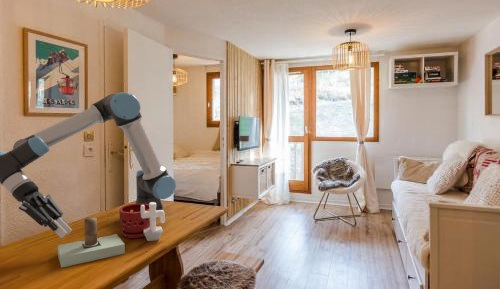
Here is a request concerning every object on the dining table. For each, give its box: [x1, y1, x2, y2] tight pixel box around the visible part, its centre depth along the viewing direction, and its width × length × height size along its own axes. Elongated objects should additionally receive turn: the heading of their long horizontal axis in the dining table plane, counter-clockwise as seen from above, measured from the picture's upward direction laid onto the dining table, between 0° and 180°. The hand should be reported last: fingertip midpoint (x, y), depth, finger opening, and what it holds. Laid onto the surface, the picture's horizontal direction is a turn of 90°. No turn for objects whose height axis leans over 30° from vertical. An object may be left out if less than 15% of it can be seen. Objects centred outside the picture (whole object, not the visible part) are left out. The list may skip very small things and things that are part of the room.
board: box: [57, 233, 126, 268], centre depth 113 cm, size 20×12×4 cm, turn 126°
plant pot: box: [119, 203, 150, 239], centre depth 133 cm, size 13×13×12 cm
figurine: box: [141, 202, 166, 242], centre depth 129 cm, size 7×9×15 cm
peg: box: [83, 216, 98, 249], centre depth 113 cm, size 4×4×13 cm
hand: (66, 233), depth 114 cm, fingers open, 2 cm apart
